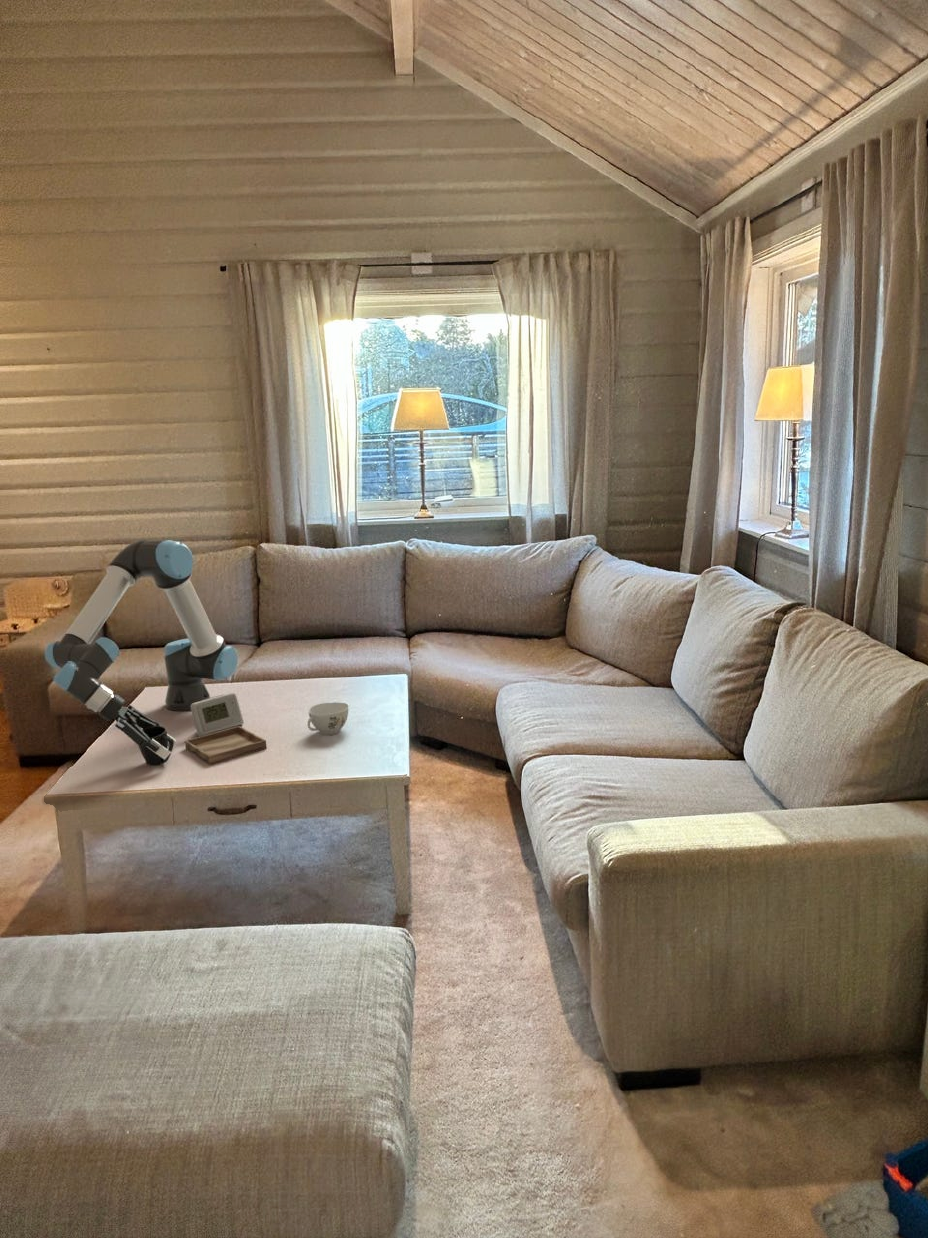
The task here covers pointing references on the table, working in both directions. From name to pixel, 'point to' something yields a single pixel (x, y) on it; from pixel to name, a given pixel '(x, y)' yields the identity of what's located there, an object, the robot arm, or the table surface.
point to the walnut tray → (225, 745)
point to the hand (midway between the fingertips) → (170, 749)
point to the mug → (161, 737)
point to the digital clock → (216, 714)
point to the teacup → (328, 717)
